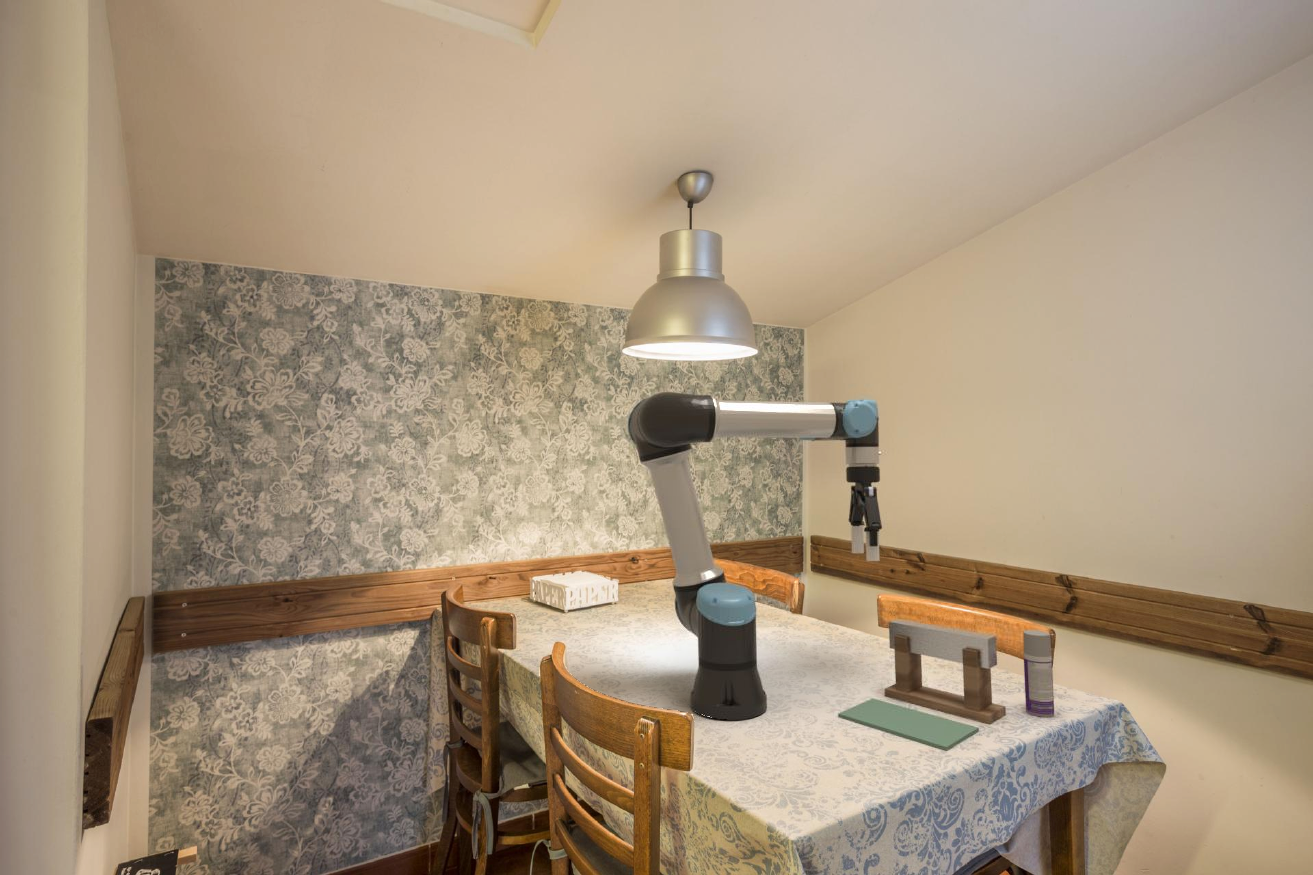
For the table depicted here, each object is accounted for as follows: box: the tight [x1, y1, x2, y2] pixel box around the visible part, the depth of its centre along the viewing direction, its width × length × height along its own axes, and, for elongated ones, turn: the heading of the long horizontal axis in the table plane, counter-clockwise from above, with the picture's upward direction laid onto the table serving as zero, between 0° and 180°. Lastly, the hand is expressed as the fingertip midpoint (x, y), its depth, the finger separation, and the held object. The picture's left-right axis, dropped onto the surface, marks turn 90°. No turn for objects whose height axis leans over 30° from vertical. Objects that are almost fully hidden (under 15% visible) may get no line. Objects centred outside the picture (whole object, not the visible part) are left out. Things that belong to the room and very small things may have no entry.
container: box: [1022, 629, 1055, 718], centre depth 127 cm, size 5×5×15 cm
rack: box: [884, 635, 1007, 725], centre depth 132 cm, size 7×21×12 cm, turn 41°
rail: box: [888, 618, 998, 669], centre depth 133 cm, size 4×20×5 cm, turn 41°
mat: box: [837, 698, 980, 752], centre depth 123 cm, size 12×21×1 cm, turn 41°
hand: (865, 556), depth 156 cm, fingers open, 13 cm apart
